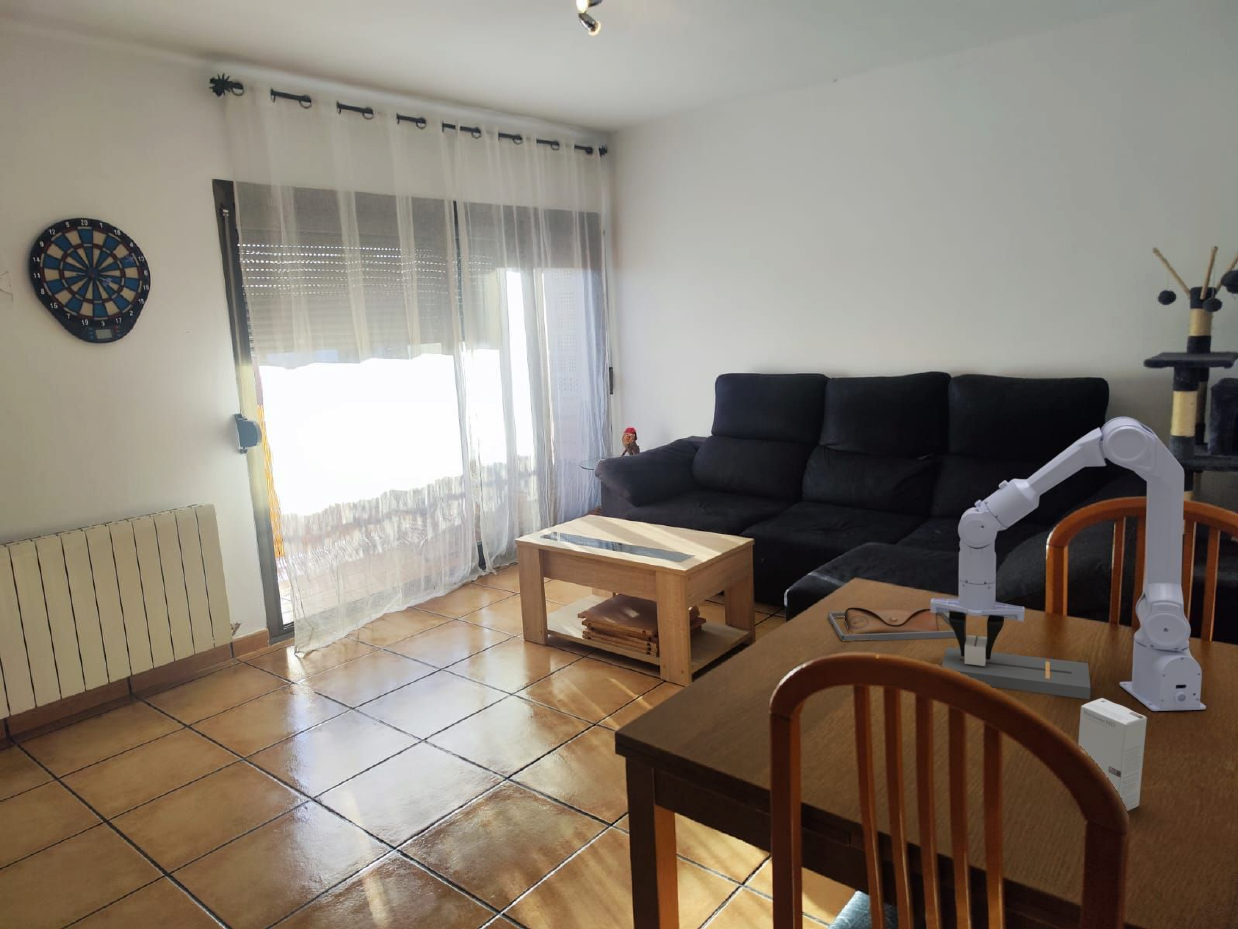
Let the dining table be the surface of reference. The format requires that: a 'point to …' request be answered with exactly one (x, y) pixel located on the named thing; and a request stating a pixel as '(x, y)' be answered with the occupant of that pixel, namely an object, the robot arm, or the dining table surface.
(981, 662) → the fader
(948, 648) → the fader panel
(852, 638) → the case rim
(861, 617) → the sunglasses case
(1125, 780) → the skincare box
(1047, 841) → the dining table surface
